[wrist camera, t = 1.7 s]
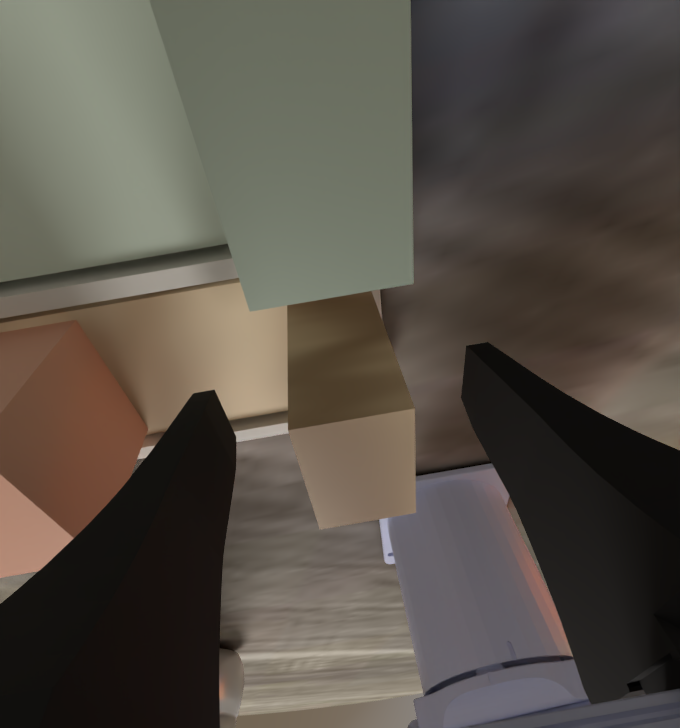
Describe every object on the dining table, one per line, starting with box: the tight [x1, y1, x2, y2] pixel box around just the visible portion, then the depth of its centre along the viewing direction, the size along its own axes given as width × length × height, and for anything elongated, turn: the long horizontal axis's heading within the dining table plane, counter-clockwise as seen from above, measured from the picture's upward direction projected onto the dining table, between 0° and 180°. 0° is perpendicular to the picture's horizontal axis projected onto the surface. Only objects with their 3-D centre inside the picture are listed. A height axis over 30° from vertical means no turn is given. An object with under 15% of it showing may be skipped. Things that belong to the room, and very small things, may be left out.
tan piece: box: [0, 278, 416, 530], centre depth 12 cm, size 14×6×6 cm, turn 97°
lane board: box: [0, 244, 382, 459], centre depth 12 cm, size 20×15×2 cm
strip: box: [0, 0, 414, 312], centre depth 7 cm, size 14×6×6 cm, turn 97°
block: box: [0, 320, 148, 578], centre depth 11 cm, size 5×5×5 cm
